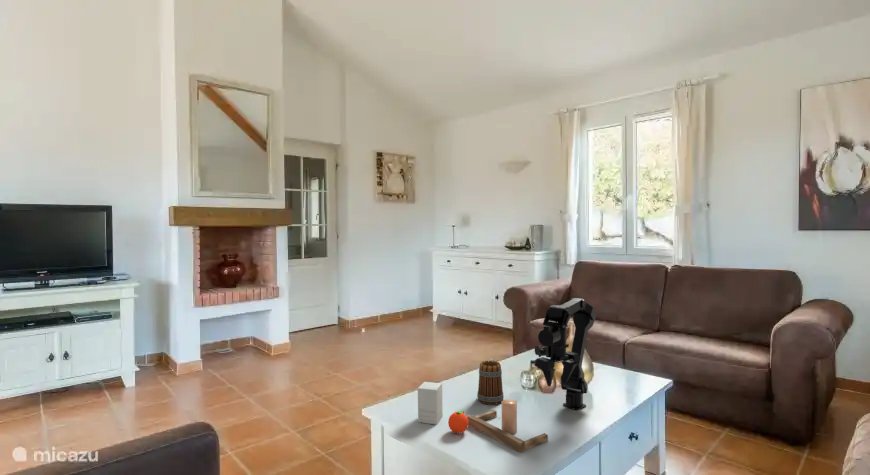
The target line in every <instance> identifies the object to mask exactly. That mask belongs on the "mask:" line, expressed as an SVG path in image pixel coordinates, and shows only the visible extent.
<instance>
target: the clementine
mask: <svg viewBox="0 0 870 475" xmlns="http://www.w3.org/2000/svg"><path fill="white" fill-rule="evenodd" d="M467 416H468V415H466V413H465V412H464V411H463V410H458V411H455V412H453V413H451V415H449V417H448V428H449V430H451V432H453V433H455V434H463V433H464V432H466V430H467V429H468V426H469V425H468V418H467Z"/></svg>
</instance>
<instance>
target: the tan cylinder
mask: <svg viewBox="0 0 870 475" xmlns="http://www.w3.org/2000/svg"><path fill="white" fill-rule="evenodd" d="M517 410H518V402H517V400H514V399H503V401H502V402H501V430H503V431H505V432H507V433H509V434H511V435H515V434H517V432H518V411H517Z"/></svg>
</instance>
